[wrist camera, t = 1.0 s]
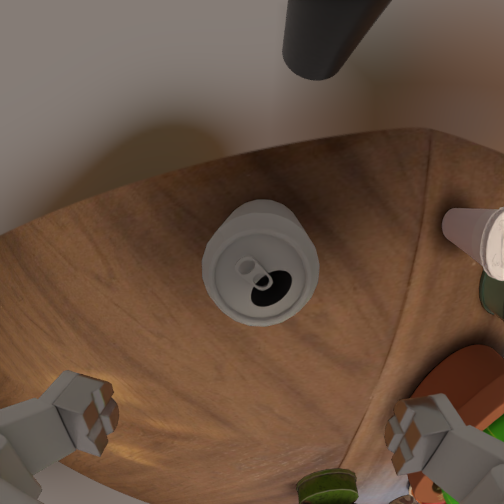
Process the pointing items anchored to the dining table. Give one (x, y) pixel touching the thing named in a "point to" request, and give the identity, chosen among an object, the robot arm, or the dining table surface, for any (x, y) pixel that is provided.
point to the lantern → (328, 487)
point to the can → (260, 264)
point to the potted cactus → (465, 402)
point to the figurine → (404, 500)
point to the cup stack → (492, 295)
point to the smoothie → (478, 236)
